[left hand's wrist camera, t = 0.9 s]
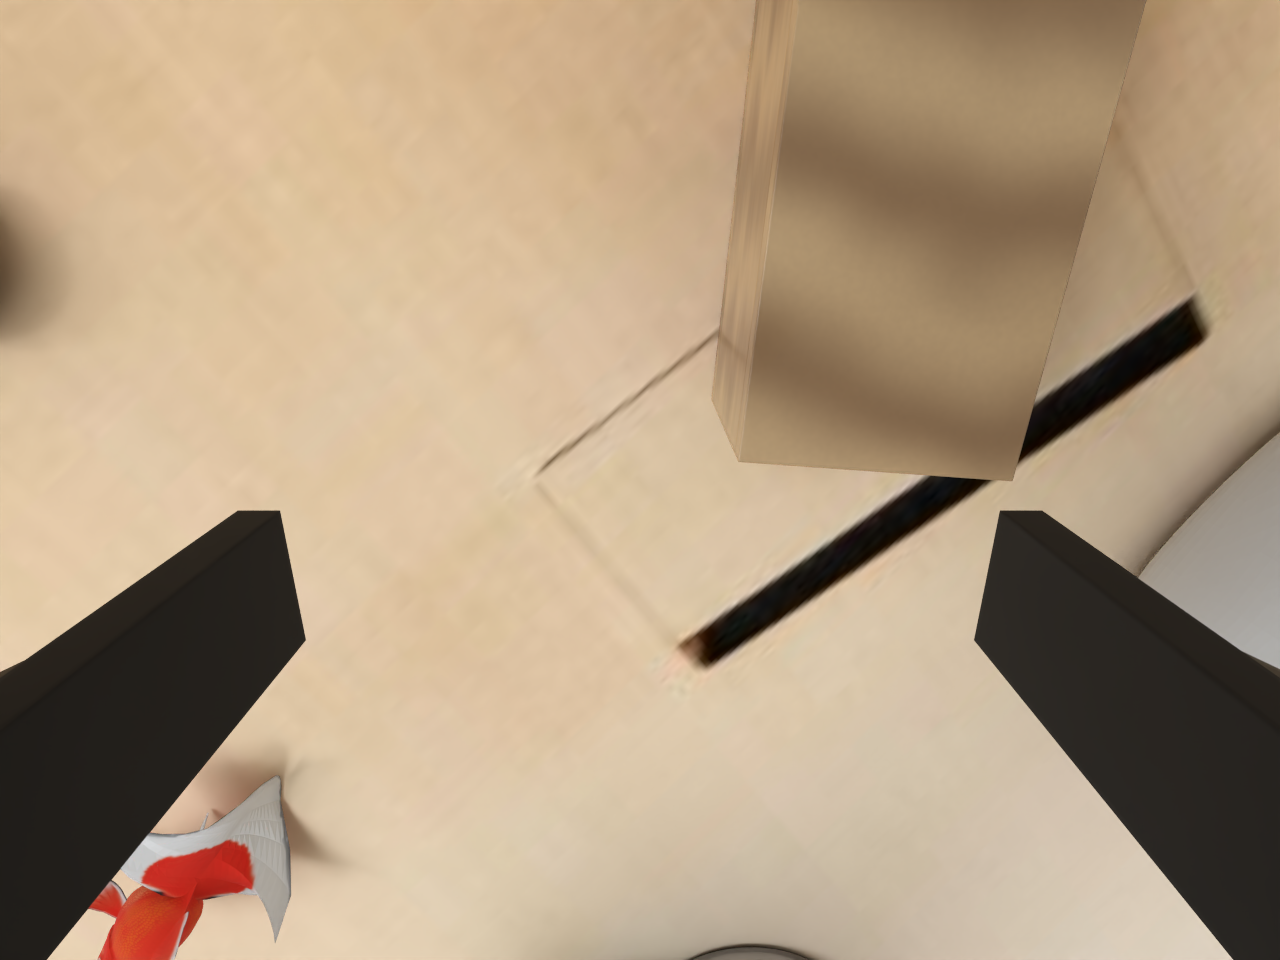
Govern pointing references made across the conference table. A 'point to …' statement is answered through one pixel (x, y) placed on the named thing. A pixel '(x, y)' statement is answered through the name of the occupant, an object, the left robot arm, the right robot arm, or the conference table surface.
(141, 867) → the fish
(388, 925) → the conference table surface
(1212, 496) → the projector
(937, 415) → the cabinet
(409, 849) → the conference table surface
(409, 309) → the conference table surface
